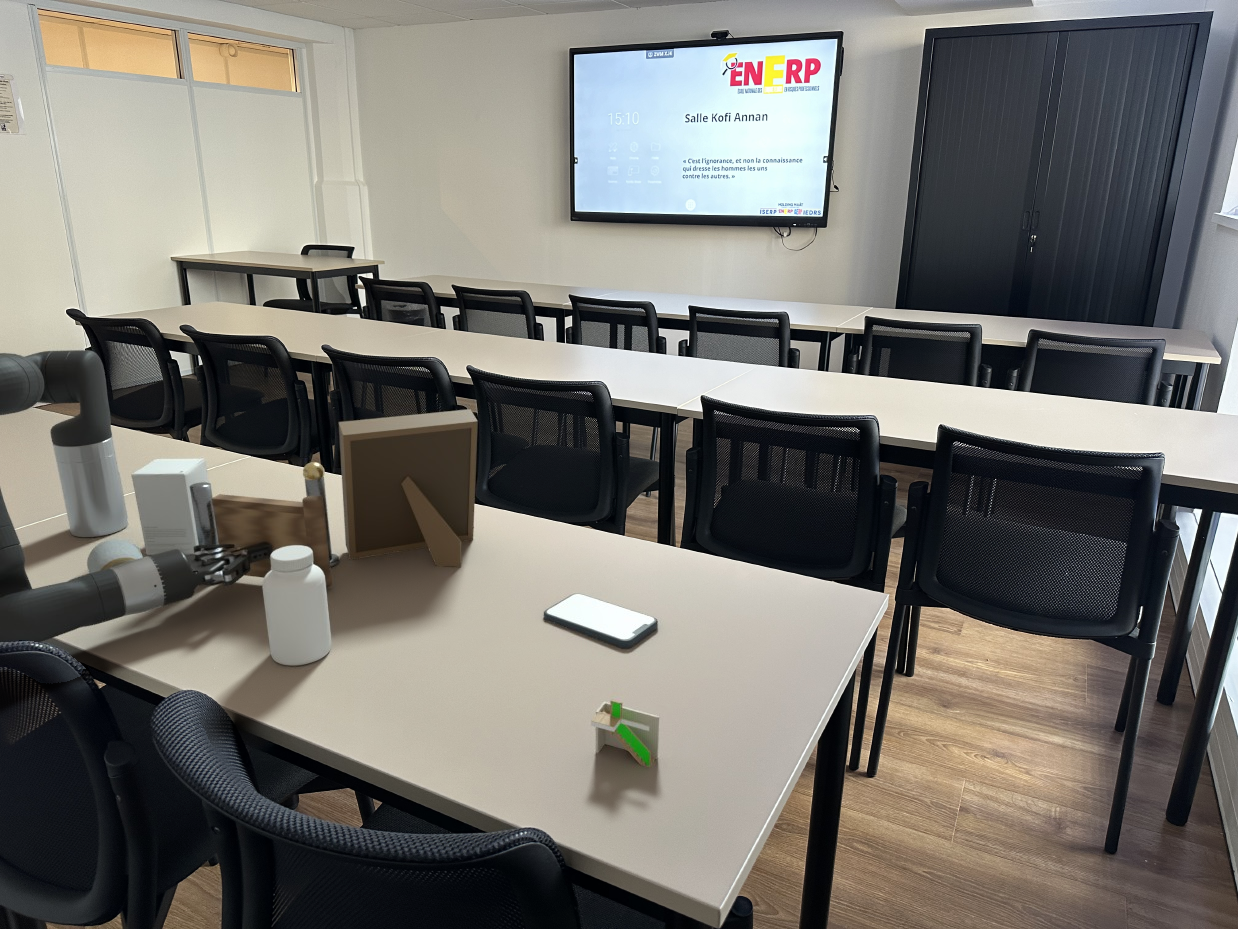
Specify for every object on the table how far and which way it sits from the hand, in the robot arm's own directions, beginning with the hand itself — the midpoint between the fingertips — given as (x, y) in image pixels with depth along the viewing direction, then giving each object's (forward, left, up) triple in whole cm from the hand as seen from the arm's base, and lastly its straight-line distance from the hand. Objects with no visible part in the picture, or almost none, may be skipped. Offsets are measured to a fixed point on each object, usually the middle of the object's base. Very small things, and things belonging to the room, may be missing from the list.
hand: (270, 548), depth 134 cm
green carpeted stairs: (+46, +51, -8) cm, 69 cm away
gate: (-1, 0, -6) cm, 6 cm away
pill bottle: (+20, +9, -7) cm, 23 cm away
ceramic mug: (-2, -23, -7) cm, 24 cm away
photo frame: (-11, +21, -7) cm, 25 cm away
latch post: (-9, +5, -7) cm, 13 cm away
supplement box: (-19, -21, -7) cm, 29 cm away
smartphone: (+15, +51, -8) cm, 53 cm away
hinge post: (-5, -11, -7) cm, 14 cm away
